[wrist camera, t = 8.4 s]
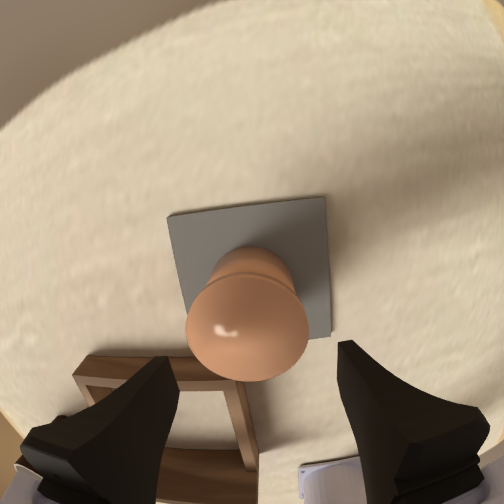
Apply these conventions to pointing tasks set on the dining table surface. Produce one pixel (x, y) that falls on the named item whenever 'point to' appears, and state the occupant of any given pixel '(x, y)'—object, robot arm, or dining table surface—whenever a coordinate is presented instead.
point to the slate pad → (265, 236)
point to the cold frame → (188, 460)
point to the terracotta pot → (248, 317)
